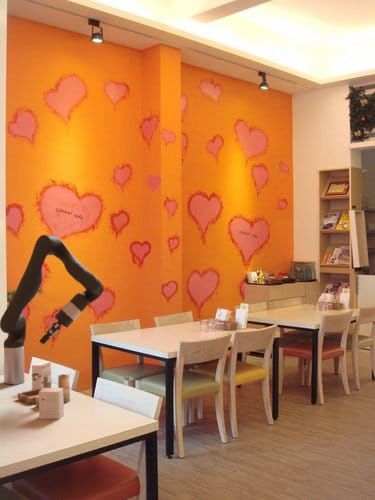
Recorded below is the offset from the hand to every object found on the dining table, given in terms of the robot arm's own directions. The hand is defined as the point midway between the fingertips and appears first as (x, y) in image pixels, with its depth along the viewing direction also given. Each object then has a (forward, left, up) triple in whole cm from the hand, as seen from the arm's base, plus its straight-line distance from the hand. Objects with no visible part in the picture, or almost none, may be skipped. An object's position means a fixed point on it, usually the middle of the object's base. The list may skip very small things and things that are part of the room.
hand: (41, 342), depth 241 cm
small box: (+26, -11, -24) cm, 37 cm away
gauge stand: (+12, -5, -24) cm, 27 cm away
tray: (0, -3, -24) cm, 24 cm away
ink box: (-14, +8, -24) cm, 29 cm away
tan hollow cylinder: (+11, +4, -24) cm, 27 cm away
